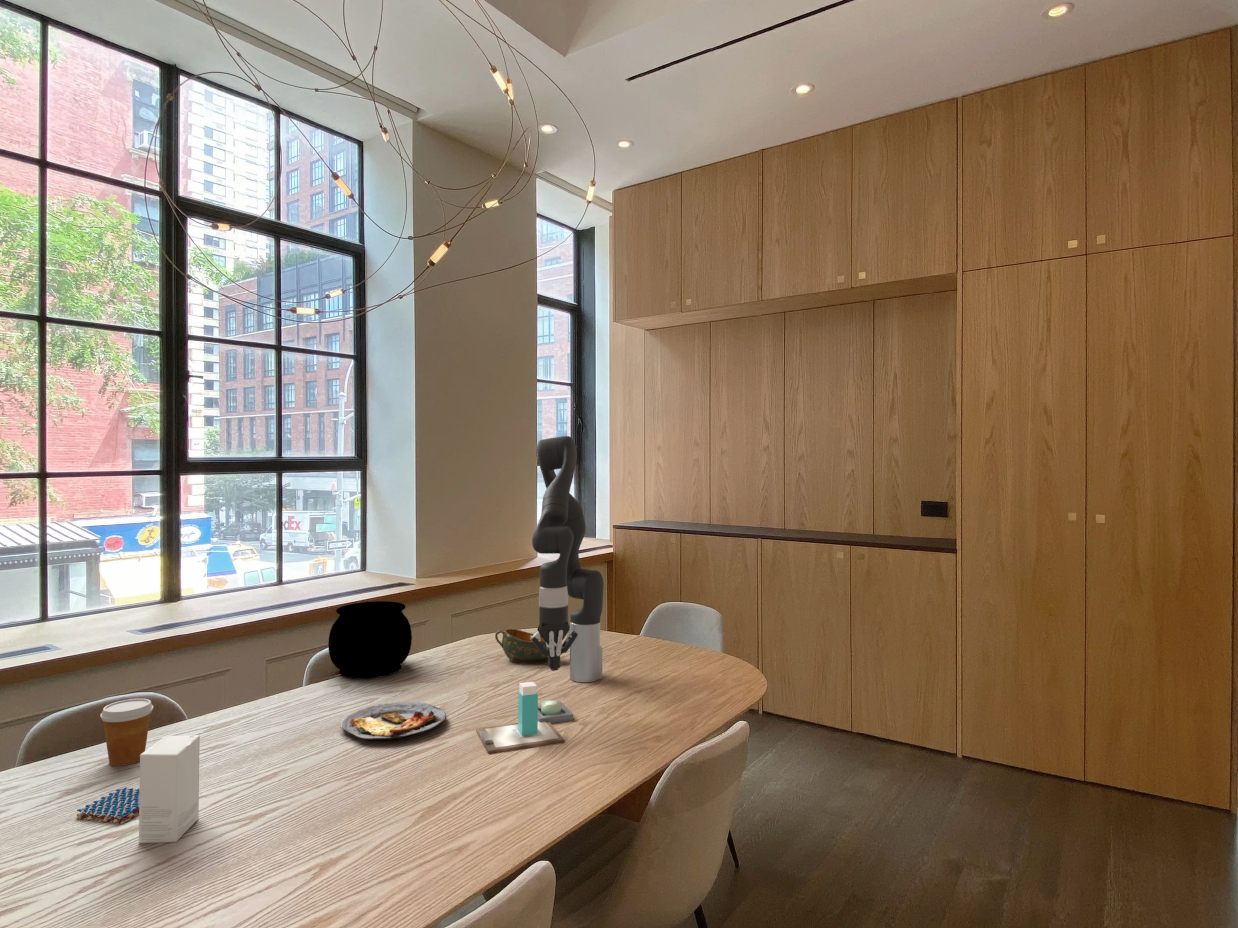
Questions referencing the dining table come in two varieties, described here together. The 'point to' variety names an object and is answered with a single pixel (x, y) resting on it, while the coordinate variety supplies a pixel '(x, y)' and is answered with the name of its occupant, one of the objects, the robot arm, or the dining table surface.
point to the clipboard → (517, 737)
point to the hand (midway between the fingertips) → (554, 669)
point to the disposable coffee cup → (126, 730)
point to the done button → (550, 707)
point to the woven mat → (113, 807)
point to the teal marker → (527, 709)
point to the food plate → (393, 720)
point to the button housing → (556, 715)
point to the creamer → (521, 647)
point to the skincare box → (169, 789)
